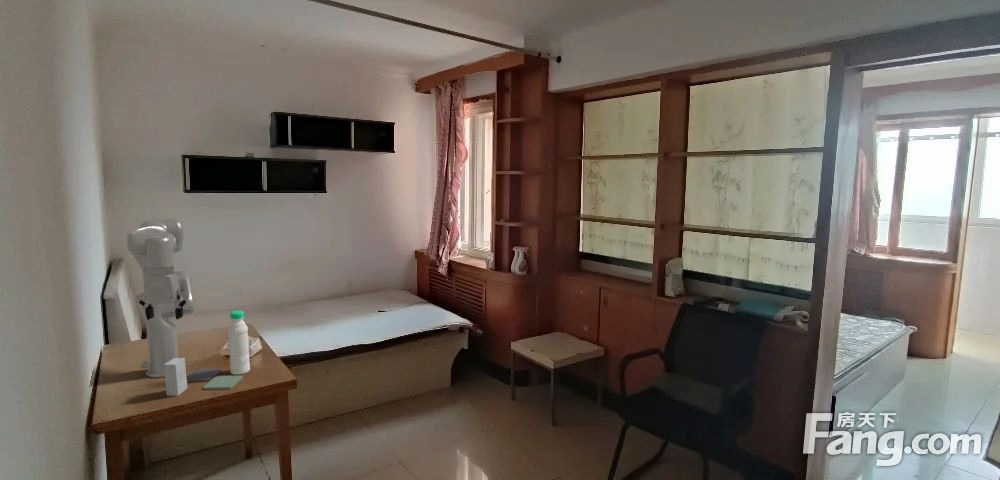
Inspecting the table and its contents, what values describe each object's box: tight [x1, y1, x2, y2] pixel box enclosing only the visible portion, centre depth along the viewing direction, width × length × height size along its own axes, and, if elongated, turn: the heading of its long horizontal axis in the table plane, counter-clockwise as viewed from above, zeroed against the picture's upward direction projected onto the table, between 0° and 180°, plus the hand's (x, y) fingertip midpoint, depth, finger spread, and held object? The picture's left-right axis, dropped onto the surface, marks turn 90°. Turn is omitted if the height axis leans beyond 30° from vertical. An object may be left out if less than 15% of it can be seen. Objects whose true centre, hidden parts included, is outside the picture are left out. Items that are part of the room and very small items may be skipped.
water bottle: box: [227, 310, 251, 376], centre depth 192 cm, size 7×7×25 cm
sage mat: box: [202, 375, 244, 390], centre depth 184 cm, size 10×10×1 cm
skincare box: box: [164, 357, 188, 397], centre depth 175 cm, size 6×4×12 cm
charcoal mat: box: [186, 368, 223, 383], centre depth 190 cm, size 10×10×1 cm
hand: (164, 318), depth 171 cm, fingers open, 9 cm apart
